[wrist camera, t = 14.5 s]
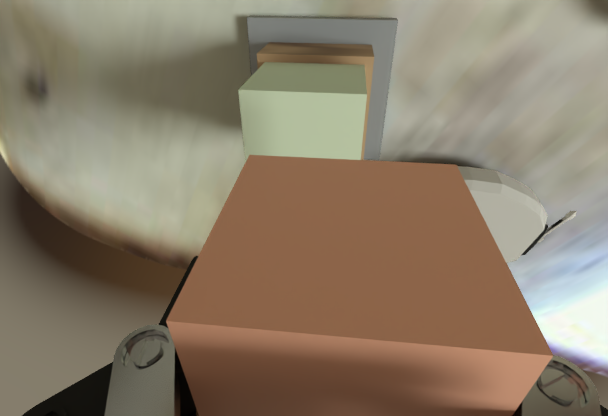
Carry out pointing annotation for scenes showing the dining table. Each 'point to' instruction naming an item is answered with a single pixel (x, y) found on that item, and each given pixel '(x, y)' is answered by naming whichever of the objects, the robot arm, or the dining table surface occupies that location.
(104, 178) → the dining table surface
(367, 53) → the walnut block
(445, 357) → the terracotta cube
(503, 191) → the robot toy
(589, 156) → the dining table surface
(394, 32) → the build board
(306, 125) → the sage cube
